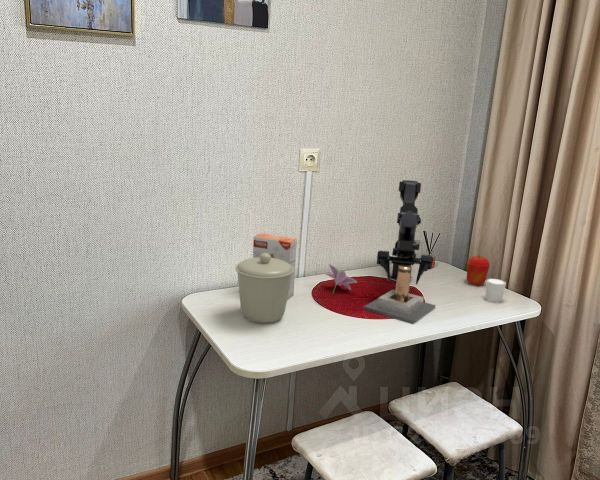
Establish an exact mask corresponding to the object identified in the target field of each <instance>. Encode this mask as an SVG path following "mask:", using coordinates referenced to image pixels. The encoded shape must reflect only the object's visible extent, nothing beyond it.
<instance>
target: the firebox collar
mask: <svg viewBox="0 0 600 480" xmlns="http://www.w3.org/2000/svg"><path fill="white" fill-rule="evenodd" d="M395 291H396V288H395V289H394V288H393V289H391V290H389V291H388V292H386V293H385V294H382V295H380V296H379V297H378V298H377V299H374V300H373V301H371V302H369V303H367V304H366V305H364V306H363V310H366V311H368V312H372V313H375V314H379V315H382V316H385V317H389V318H392V319H395V320H399V321H402V322H406V323H408V324H412V325H415V324H416V323H418V322H419V321H420V320H421V319H423V317H425V316H427V315H428V314H429V313H430V312H432V311H433V310H434V309H436V304H432V303H428V302H425V301H424V298H425V297H424V296H420V295H418V294H413V293H409V294H408V302H406V303H405V302H402V301H398V300H395Z"/></svg>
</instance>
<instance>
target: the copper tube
mask: <svg viewBox="0 0 600 480" xmlns="http://www.w3.org/2000/svg"><path fill="white" fill-rule="evenodd" d="M412 268H413V267H412V265H411V266H409V265H404V264H402V265H399V266H398V274H397V279H396V284H395V290H396V291H395V300H398V301H402V302H405V303H406V302H408V294H409V292H410V284H411V278H412V270H413V269H412Z"/></svg>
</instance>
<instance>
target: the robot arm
mask: <svg viewBox="0 0 600 480" xmlns="http://www.w3.org/2000/svg"><path fill="white" fill-rule="evenodd" d="M421 187H422V183H421V182H419V181H417V180H407V179H405V180H404V179H403V180H402V181H399V185H398V192H399V199H400V200H401V202H402V206H400V208H399V212H398V213H397V217H396V223H397V224H398V228H399V229H398V234H397V240H396V242H395V243H394V247H393V248H392V253H391V254H392V255H390V251H388V250H378V251H377V254H376V255H377V257H376V264H377V265H379V266H380V267H381V268H383V269H384V272H385V274H386V277H387V281H388V282H390V279H395V280H397V274H398V266H399V265H402V264H404V265H409V266H411V267H412V266H414V265H415V264H416V265H419V267H418V271H417V274H416V279H415V285H418V283H419V281H420V279H421V277H422V275H423V273H425V272H427V271H430V270H432V268H433V263H434V257H433V255H427V254H421V255H420V257H416V256H417V253H416V251H419V250H420V245H421V244H420V243H421V241H420V240H419V239H416V231H417V227H418V226H420V224H421V223H422V218H421V217H420V214H418V213H419V212H418V210H419V209H418V208H417V206H415V205H416V200H418V198H419V196H418V195H419V194H421V190H422V188H421ZM390 263H391V264H392V271H391V267H390V265H391V264H390Z"/></svg>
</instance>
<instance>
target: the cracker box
mask: <svg viewBox="0 0 600 480" xmlns="http://www.w3.org/2000/svg"><path fill="white" fill-rule="evenodd" d="M297 241H298V240H297V238H295V237H288V236H282V235H276V234H270V233H263V232H260V233H257V234H256V235H254V236H253V244H252V246H253V247H252V258H256V257H260V255H261V254H262V253H268V254H269V255H270V256H271V258H276V259H280V260H283V261H285V262H287V263H288V264H290V265H291V266H293V268H294V272H293V273H292V274H291V280H290V286H289V292H288V298H287V301H288V300H289V299H290V298H291V297H292V296H294V292H295V277H296V275H295V274H296V260H297V259H296V258H297Z"/></svg>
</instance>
